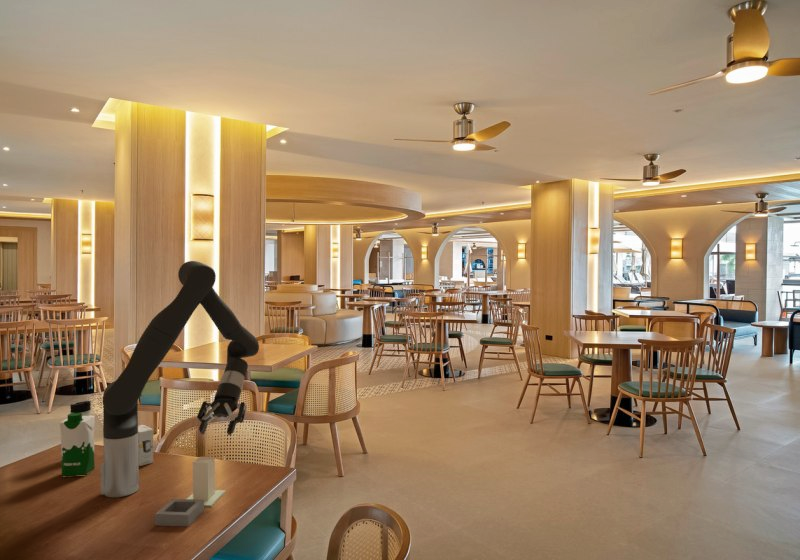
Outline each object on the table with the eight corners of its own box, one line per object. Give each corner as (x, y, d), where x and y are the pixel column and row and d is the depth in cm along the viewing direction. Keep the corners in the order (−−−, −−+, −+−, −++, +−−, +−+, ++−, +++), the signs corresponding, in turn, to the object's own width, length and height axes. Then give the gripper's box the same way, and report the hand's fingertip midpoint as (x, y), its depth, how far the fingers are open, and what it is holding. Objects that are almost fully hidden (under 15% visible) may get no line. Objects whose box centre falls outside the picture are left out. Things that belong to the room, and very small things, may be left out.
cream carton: (193, 500, 151) (192, 462, 150) (200, 493, 155) (199, 456, 155) (208, 500, 150) (207, 462, 150) (214, 493, 155) (214, 456, 155)
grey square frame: (155, 525, 137) (155, 513, 137) (172, 509, 146) (172, 498, 146) (188, 526, 136) (188, 515, 136) (203, 510, 145) (203, 499, 145)
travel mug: (82, 460, 183) (81, 404, 183) (66, 459, 185) (65, 403, 184) (96, 454, 189) (95, 399, 189) (80, 453, 191) (80, 398, 190)
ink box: (128, 461, 183) (127, 427, 183) (143, 457, 187) (142, 424, 187) (139, 467, 177) (138, 432, 177) (154, 462, 181) (153, 428, 181)
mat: (180, 505, 148) (180, 504, 148) (196, 490, 158) (196, 489, 158) (211, 506, 147) (211, 505, 147) (225, 491, 157) (225, 490, 157)
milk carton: (57, 479, 167) (56, 416, 167) (71, 468, 176) (70, 409, 176) (86, 477, 168) (85, 415, 168) (98, 467, 177) (98, 408, 177)
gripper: (205, 381, 170) (188, 427, 158) (248, 382, 168) (234, 428, 157) (212, 393, 175) (197, 438, 164) (254, 394, 174) (241, 439, 163)
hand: (215, 433), depth 160 cm, fingers open, 8 cm apart
